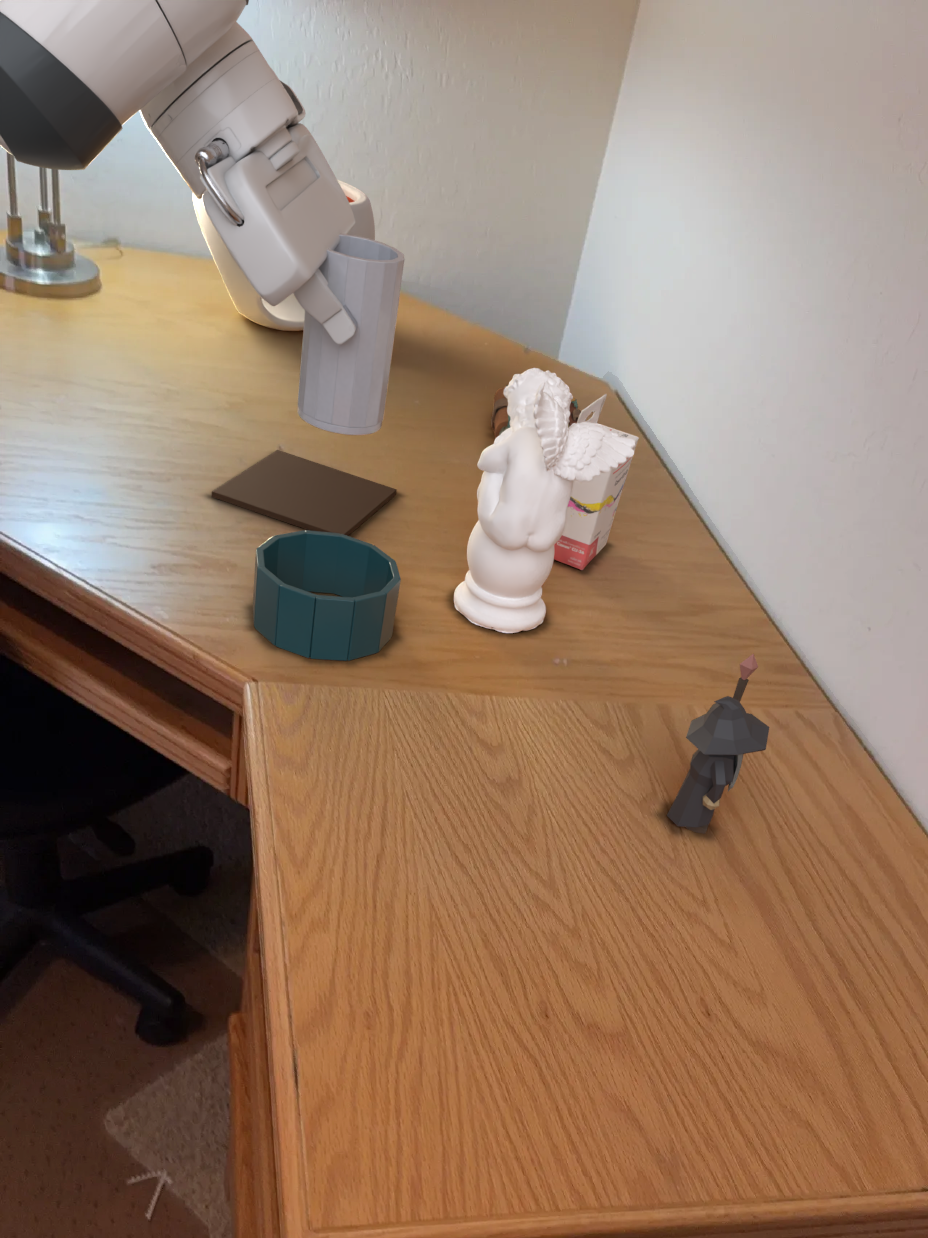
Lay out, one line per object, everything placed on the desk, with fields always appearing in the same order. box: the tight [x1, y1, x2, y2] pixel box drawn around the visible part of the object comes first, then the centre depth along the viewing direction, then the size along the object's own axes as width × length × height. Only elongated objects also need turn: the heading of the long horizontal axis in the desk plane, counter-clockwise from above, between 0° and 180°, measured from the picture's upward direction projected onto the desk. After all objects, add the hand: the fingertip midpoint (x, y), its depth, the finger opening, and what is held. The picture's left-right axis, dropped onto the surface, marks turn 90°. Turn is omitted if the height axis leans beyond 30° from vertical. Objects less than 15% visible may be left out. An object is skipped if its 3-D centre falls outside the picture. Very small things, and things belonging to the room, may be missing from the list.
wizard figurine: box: [666, 653, 770, 835], centre depth 76 cm, size 8×6×12 cm
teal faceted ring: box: [252, 529, 402, 662], centre depth 88 cm, size 12×12×6 cm
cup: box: [296, 233, 406, 436], centre depth 79 cm, size 7×7×12 cm
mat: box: [211, 449, 398, 536], centre depth 108 cm, size 14×14×1 cm
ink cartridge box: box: [554, 393, 640, 571], centre depth 106 cm, size 9×5×15 cm, turn 157°
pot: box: [192, 179, 376, 332], centre depth 142 cm, size 24×24×18 cm
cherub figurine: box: [453, 367, 635, 634], centre depth 90 cm, size 12×12×22 cm
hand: (358, 322), depth 78 cm, fingers closed on cup, 7 cm apart
